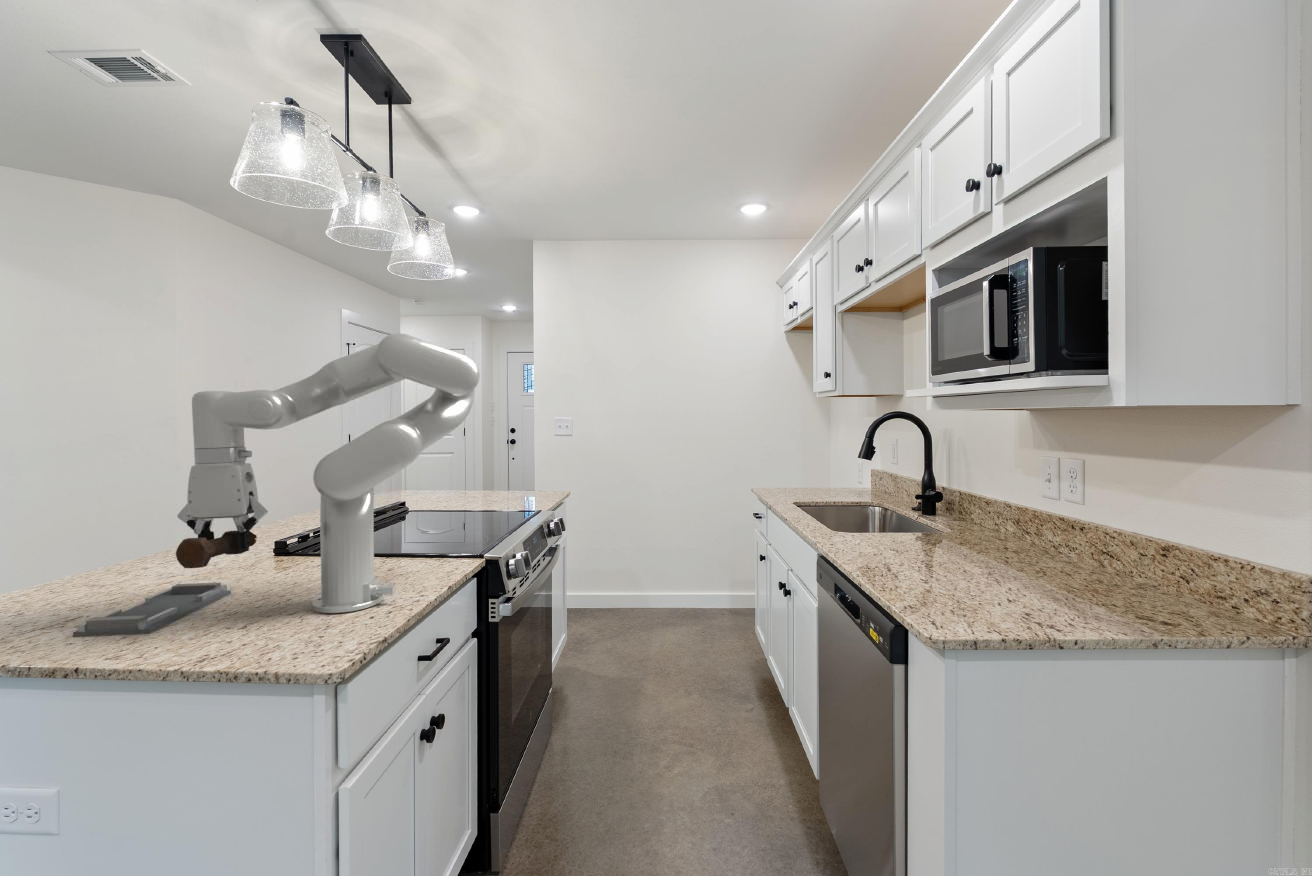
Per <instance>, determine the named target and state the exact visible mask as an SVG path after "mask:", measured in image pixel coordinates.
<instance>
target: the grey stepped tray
mask: <svg viewBox="0 0 1312 876" xmlns="http://www.w3.org/2000/svg"><path fill="white" fill-rule="evenodd" d="M231 594H232V590H228V589H227V591H224V592H222V593H220V594H218V595H216V596H214V597H212V598H210V599H208V600H205V601H203V602H197V596H199V595H201V594H187V595H171V596H168V597H166V598H164V599H161V600H159V601H157V602H154V603H152V604H145V602H143V603H139V605H136V606H133V607H131V608H128V609H126V610H124V611H123V610H122V616H141V615H147V617H148V618H150V617H152V616H154V615H157V614H159V613H161V612H163V611H165V610H168V609H170V608H177V614H176V615H174V616H172V617H170V618H167V619H165V620H163V621H161V622H159V623H157V624H155V625H153V626H151V627H149V628H146V629H126V630H103V631H85V632H78V629H77V630H75V631H73V632H72V637H73V638H80V637H99V636H102V637H103V636H122V635H125V636H126V635H143V634H144V635H146V634H152V633H155V632H156V631H158V630H160V629H162V628H164V627H166V626H169V625H171V624H173V623H174V622H177V621H178V620H181V619H183V618H185V617H187V616H189V615H191V614H193V613H195V612H197V611H198V610H201V609H203V608H205V607H208V606H209V605H212V604H213V603H216V602H217V601H219V600H221V599H223V598H225V597H229V596H230V595H231Z"/></svg>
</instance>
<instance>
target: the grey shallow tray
mask: <svg viewBox="0 0 1312 876" xmlns="http://www.w3.org/2000/svg"><path fill="white" fill-rule="evenodd" d="M221 583H222V582H204V583H203V582H201V583H200V582H199V583H178V584H175V585H172V586H171V587H170V588H167V589H164V590H162V591H159V592H158V593H155V594H152V595H150V596H147V597H145V598H144V603H145V604H152V603H154V602H157V601H159V600H161V599H164V598H166V597H168V596H171V595H187V594H201V595H199V596H197V602H203V601H205V600H208V599H210V598H212V597H214V596H216V595H218V594H220V593H222V592H224V591H227V590H228V584H221ZM122 612H123V609H115V610H113V611H110V612H107V613H105V614H103V615H99V616H97V617H96V616H95V617H92V618H90V619H87V620H85V622H83V623H80V624H77V630H78V632H85V631H103V630H126V629H146V628H149V627H151V626H153V625H155V624H157V623H159V622H161V621H163V620H165V619H167V618H170V617H172V616H174V615H176V614H177V608H170V609H168V610H165V611H163V612H161V613H159V614H157V615H154V616H152V617H150V618H148V617H147V615H141V616H122Z"/></svg>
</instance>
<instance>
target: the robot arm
mask: <svg viewBox="0 0 1312 876" xmlns="http://www.w3.org/2000/svg"><path fill="white" fill-rule="evenodd" d="M479 370H480V369H479V367H478V365H477V363H476V362H475V361H474V360H473V359H472V358H471V357H470V356H468V355H465V354H464V353H461V352H460V351H455V350H453V349H449V348H446V347H443V346H441V345H437V344H436V343H432V342H430V341H426V340H423V339H421V338H417V337H416V336H413V335H410V334H405V333H400V332H397V333H392V334H389V335H387V336H385V337H383V338H382V339H381V341H380V342H379V343H377V344H374V345H371V346H369V347H367V348H364V349H362V350H359V351H356V352H354V353H351V354H347V355H345V356H342V357H339V358H336V359H334V360H333V359H332V360H331V361H329V362H328V363H326V364H325V365H324V366H322V367H321V368H320V369H319V370H318V371H317V372H314V373H313V374H311V375H310V376H308V377H306V378H303V379H301V380H299V381H297V382H296V381H295V382H294V383H290V384H288V385H286V386H282V387H280V388H278V389H275V390H269V389H256V390H247V391H246V390H244V391H238V392H237V391H235V392H234V391H226V390H225V391H223V390H219V391H218V390H205V391H198V392H195V393H194V394H193V395H192V398H191V415H192V416H191V417H192V433H193V434H192V435H193V436H192V437H193V447H194V449H193V453H194V454H193V455H194V465H192V466H191V467H190V471H189V476H188V477H189V478H188V483H187V502H186V503H187V504H186V505H184V507H183V508H182V509H181V510H180V511H179V513H178V514H177V515H176V516H177V518H178V519H179V520H181V521H182V522H183V523H184V524H186V525H187V526H188V527H189V528H190V529H191V530H193V533H194V534H195V535H197V538H206V539H207V540H211V539H215V532H214V531H213V530H211V528H212V525H213V521H214V520H215V519H230V518H232V520H233V523H234V525H235V527H236V531H237V530H238V532H237V533H235V553H236V554H235V555H240V554H243V553H244V554H245V553H246V552H249V550H250V548H251V546H250V532H251V530H253V528H254V526H255V525H257V524H258V522H259V521H260V520H261V519H263V518H264V517H265V516H266V515H267V514H268V509H266V507H264V506H263V505H262V504H261V503H260V501H259V496H258V487H257V483H256V482H257V481H256V478H255V473H254V470H253V467H252V464H251V462H250V463H249V462H248V463H247V462H246V461H247V459H248V458H252V456H253V452H252V450H247V449H246V448H247V447H246V446H245V429H253V430H276V429H277V430H278V429H282V428H284V427H285V428H286V427H287V426H290V425H292V424H294V423H298V422H300V421H303V420H305V419H308V418H309V417H313V416H315V415H317V414H320V413H323V412H325V411H327V410H330V409H332V408H335V407H337V406H341V405H344V404H347V403H349V402H351V401H355V400H356V399H359V398H361V397H364V396H366V395H368V394H371V393H373V392H374V393H375V392H376V391H379V390H381V389H383V388H386V387H389V386H391V385H394V384H396V383H399V382H401V381H405V380H408V381H409V380H410V381H412V382H414V383H418V384H420V385H424V386H427V387H430V388H434V389H435V390H434V392H433V393H432V394H431V396H429V398H426V399H425V400H424V401H422V402H421V403H419V404H417V405H416V406H415V407H413V408H412V409H410V410H408V411H406V412H404V413H403V414H401V415H398V416H397V417H395V418H393V419H390V420H386V421H383V422H381V423H380V424H378V425H376V426H374V427H373V428H371V429H369V430H367V431H366V432H364V433H362V434H361V435H359V436H357V437H356V438H353V439H352V440H351V441H349V442H347V443H346V444H344V445H342V446H340V447H339V448H337V449H335V450H334V451H332V452H330V453H328V454H326V455H325V456H323V458H321V459H320V460H319V461H318V462H317V464H316V466H315V468H314V470H313V475H312V476H313V479H312V480H313V484H314V487H315V489H316V490H317V492H318V493H319V494H320V505H319V507H320V509H319V510H320V511H319V512H320V519H319V522H320V523H319V525H320V530H319V532H320V533H319V534H320V538H319V540H320V581H321V582H320V584H321V587H320V588H321V596H320V597H317V598H316V599H314V600H313V602H312V610H313V611H315V612H317V613H323V614H343V613H350V612H355V611H360V610H365V609H369V608H371V607H374V606H376V605H378V604H380V603H381V601H383V599H384V596H388V595H389V596H391V595H392V596H393V595H395V593H396V585H395V584H394V583H393V582H391V583H390V582H388V583H381V582H380V577H379V576H375V550H374V549H375V548H374V546H375V545H374V544H375V541H374V539H375V538H374V537H375V536H374V535H375V533H374V526H375V523H374V522H375V521H374V519H375V518H374V517H375V515H374V508H375V507H374V502H375V501H374V499H375V498H374V491H375V487H376V486H378V485H380V484H382V483H383V482H384V481H386V480H388V479H389V478H391V477H393V476H394V475H395V474H397V473H399V472H400V471H402V470H404V469H405V468H407V467H409V466H410V465H411V464H412V463H413V462H414V461H415V460H416V459H417V458H418V457H419V455H420V453H422V452H423V451H424V450H426V449H427V448H429V447H431V446H432V445H434V444H435V443H437V442H438V441H440V440H441V439H442V438H445V436H447V435H449V434H450V433H451V432H453V431H454V430H456V429H457V428H458V427H459V426H460V425H461V424H463V423H464V421H465V420H466V419H467V418H468V416H469V415H470V412H471V410H472V407H473V405H474V400H475V388H477V386H478V384H479V382H480V371H479ZM251 514H252V515H251ZM249 515H251V516H249Z"/></svg>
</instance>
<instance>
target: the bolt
mask: <svg viewBox="0 0 1312 876" xmlns="http://www.w3.org/2000/svg"><path fill="white" fill-rule="evenodd" d="M237 532H238V530H237V529H236V530H228V531H225V532H223V534H222V535H221V536H219V537H216V538H214V539H211V540H207V539H206V538H198V537H189V538H184V539H183V540H182V541H181V542H180V543H179V545H178V546H177V547H176V551H175V558H176V560H177V562H178V563H179V564H180V566H181V567H183V568H184V569H199V568H204V567H207V566H208V564H209V563H210V561H211V559H212V558H215V557H218V556H221V555H229V556H230V555H237V554H236V553H235V533H237ZM257 538H258V536H257V534H254V533H253V532H252V531H250V547H252V546H254V545H255V544H256V543H257Z"/></svg>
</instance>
